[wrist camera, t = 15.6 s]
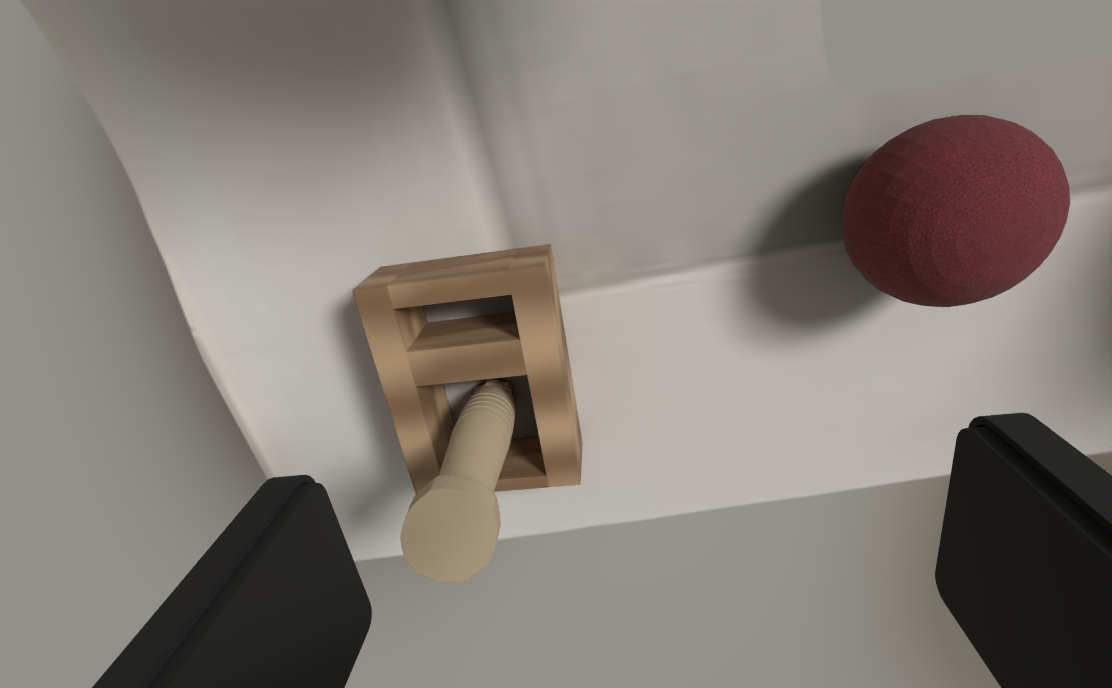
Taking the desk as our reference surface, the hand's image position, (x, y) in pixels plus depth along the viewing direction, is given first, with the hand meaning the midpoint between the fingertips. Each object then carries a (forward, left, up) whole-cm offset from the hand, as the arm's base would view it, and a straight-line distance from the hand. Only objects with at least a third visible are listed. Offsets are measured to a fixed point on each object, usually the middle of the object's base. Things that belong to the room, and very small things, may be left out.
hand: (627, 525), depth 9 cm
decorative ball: (+3, +18, -31) cm, 36 cm away
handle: (+14, -10, -31) cm, 35 cm away
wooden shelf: (+11, -10, -30) cm, 34 cm away
